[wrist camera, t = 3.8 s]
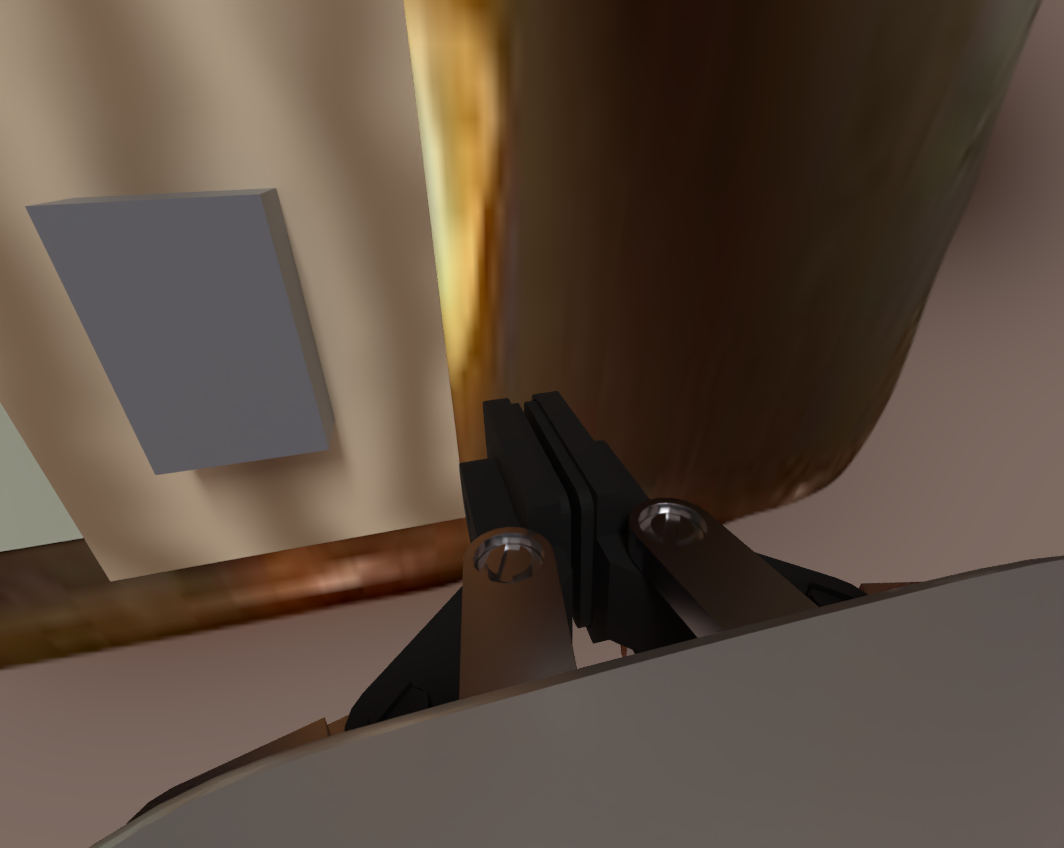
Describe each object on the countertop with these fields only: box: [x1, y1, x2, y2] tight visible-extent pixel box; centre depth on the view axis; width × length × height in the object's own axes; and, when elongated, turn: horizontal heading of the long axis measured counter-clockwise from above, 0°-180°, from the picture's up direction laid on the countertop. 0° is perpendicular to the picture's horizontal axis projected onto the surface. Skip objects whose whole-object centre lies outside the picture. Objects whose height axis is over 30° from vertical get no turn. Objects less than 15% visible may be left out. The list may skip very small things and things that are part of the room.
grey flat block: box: [25, 188, 335, 475], centre depth 18 cm, size 6×9×2 cm, turn 2°
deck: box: [0, 0, 466, 581], centre depth 20 cm, size 16×22×4 cm
